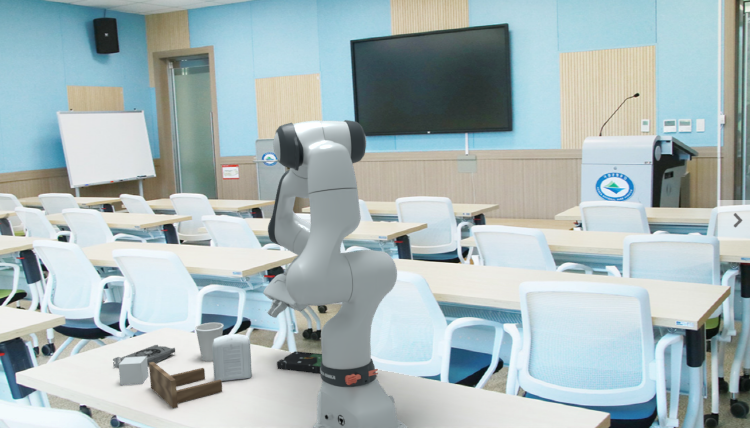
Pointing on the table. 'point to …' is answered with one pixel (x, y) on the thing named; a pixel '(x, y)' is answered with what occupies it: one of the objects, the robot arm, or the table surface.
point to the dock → (168, 383)
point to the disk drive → (301, 362)
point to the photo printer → (231, 357)
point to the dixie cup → (208, 338)
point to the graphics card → (149, 354)
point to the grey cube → (133, 370)
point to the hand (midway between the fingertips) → (271, 315)
